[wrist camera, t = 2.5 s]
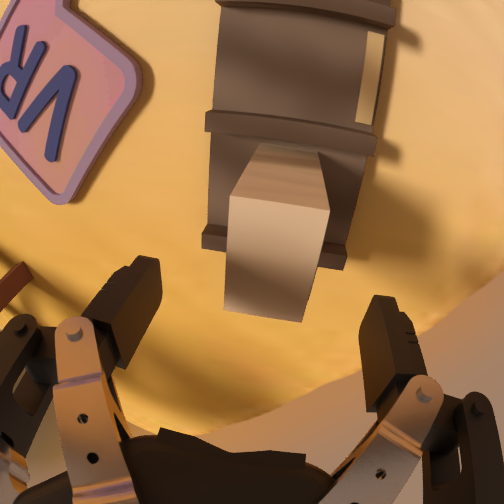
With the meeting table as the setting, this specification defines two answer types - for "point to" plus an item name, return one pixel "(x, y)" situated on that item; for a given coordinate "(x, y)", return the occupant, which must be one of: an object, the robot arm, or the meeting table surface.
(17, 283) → the stool
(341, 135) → the notched ledge
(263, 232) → the oak block
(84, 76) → the icon
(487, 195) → the meeting table surface
